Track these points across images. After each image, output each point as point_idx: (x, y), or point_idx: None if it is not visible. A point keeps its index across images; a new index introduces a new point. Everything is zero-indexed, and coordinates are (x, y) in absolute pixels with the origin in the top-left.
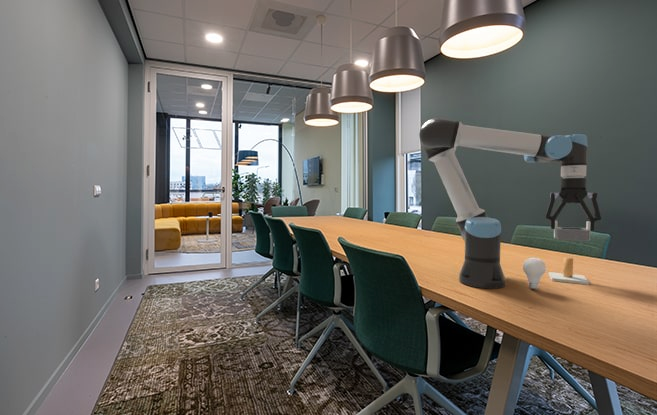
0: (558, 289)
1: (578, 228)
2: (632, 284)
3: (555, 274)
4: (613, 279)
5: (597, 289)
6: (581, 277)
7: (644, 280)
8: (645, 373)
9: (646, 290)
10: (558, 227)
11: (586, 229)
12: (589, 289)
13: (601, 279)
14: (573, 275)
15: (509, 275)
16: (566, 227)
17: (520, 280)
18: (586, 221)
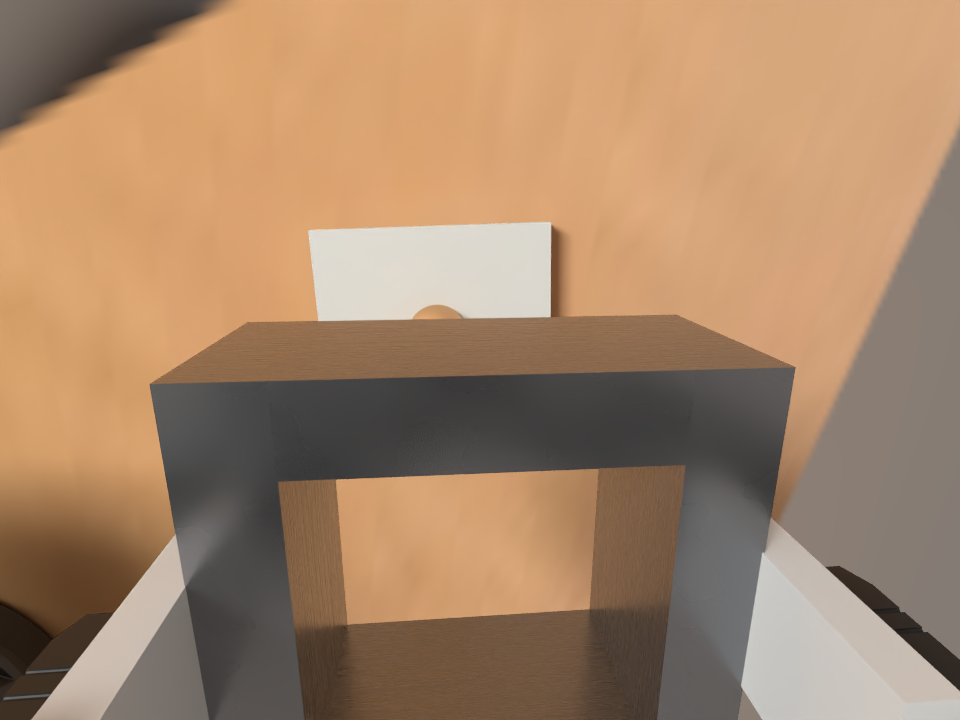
0: (364, 611)
1: (645, 462)
2: (807, 263)
3: (357, 303)
4: (742, 159)
5: (565, 504)
6: (524, 311)
7: (944, 77)
8: None
9: (819, 387)
10: (227, 540)
11: (726, 676)
12: (523, 526)
13: (660, 205)
14: (480, 267)
15: (45, 418)
16: (406, 454)
17: (144, 523)
18: (898, 711)
